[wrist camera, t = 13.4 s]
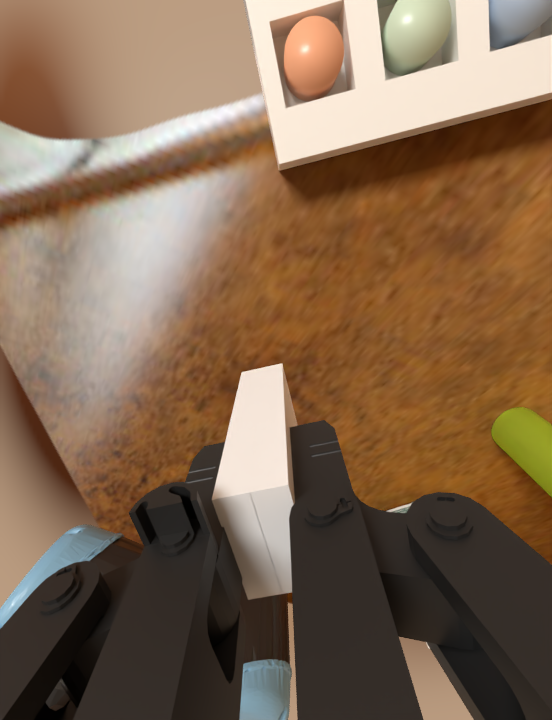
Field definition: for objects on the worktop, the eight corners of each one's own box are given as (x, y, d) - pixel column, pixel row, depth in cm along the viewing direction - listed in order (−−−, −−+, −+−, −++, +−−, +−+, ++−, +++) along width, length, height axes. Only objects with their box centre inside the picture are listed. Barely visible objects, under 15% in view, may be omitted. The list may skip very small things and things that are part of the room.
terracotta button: (290, 108, 33) (291, 96, 30) (278, 44, 32) (278, 25, 29) (341, 93, 33) (348, 80, 30) (332, 28, 31) (338, 7, 28)
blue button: (479, 55, 32) (500, 37, 29) (477, -14, 30) (499, -40, 27) (536, 40, 31) (563, 20, 28) (536, -31, 30) (565, -60, 27)
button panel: (278, 170, 36) (279, 164, 32) (242, -6, 31) (237, -38, 28) (549, 100, 34) (583, 84, 30) (553, -100, 29) (593, -148, 26)
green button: (382, 82, 32) (393, 67, 29) (375, 16, 31) (386, -7, 28) (436, 67, 32) (453, 50, 29) (432, -1, 30) (449, -26, 27)
